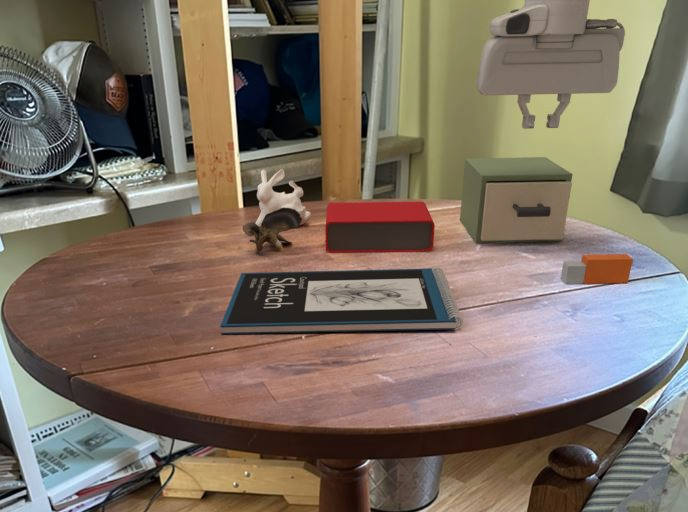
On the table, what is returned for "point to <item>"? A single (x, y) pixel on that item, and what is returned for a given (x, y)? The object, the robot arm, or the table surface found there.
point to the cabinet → (501, 170)
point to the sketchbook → (341, 302)
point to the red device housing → (379, 227)
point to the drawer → (525, 210)
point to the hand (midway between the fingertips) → (539, 128)
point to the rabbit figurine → (279, 198)
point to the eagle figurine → (273, 227)
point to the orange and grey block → (597, 269)
